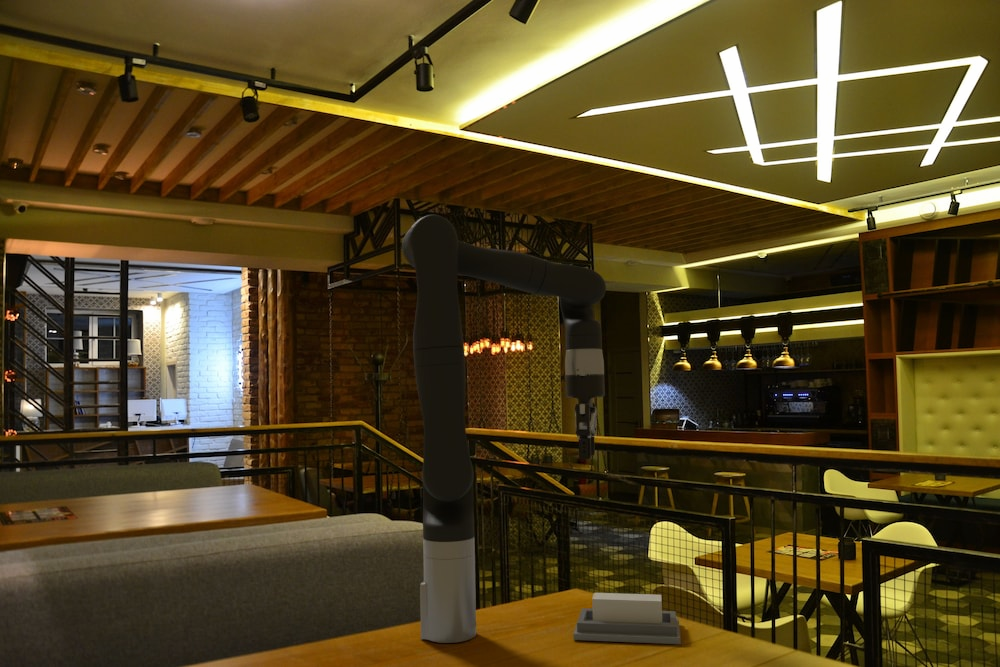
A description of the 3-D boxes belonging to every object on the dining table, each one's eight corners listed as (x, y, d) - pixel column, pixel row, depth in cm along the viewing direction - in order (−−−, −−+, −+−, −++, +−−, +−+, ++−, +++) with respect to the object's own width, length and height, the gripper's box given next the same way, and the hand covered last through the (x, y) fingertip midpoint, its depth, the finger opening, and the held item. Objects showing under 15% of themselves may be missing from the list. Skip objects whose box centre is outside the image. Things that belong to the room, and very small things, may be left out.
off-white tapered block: (662, 630, 134) (661, 601, 134) (593, 628, 136) (592, 599, 137) (662, 623, 138) (661, 594, 139) (595, 620, 141) (594, 592, 141)
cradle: (680, 644, 130) (680, 628, 130) (573, 639, 133) (573, 624, 133) (678, 623, 141) (678, 609, 142) (580, 620, 145) (580, 606, 145)
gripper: (569, 374, 158) (571, 454, 157) (561, 372, 144) (563, 460, 143) (606, 373, 157) (609, 454, 155) (601, 371, 143) (604, 460, 141)
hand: (587, 457), depth 149 cm, fingers open, 8 cm apart
